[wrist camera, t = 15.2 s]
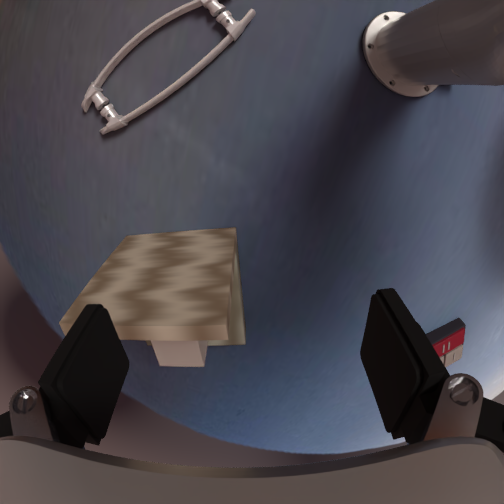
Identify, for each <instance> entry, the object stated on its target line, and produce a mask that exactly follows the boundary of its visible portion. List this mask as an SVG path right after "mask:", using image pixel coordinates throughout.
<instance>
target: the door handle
mask: <svg viewBox="0 0 504 504" xmlns="http://www.w3.org/2000/svg"><path fill="white" fill-rule="evenodd" d="M201 6H204V7H205V8H206V9H207V8H208V9H209V10H210V14H211V15H212V16H213V17H215V16H217V18H216V21H217V22H219V23H221V24H222V25H223V26H224V27H225V28H226V30H227V33H228V35H227V36H226V37H225V38H224V39H223V40H222V41H221V42H220V43H219V44H218V45H217V46H216V47H215V48H214V49H213V50H212V51H211V52H210V53H208V54H207V55H206V56H205V57H204V58H203V59H202V60H201V61H200V62H198V63H197V64H196V65H195V66H194V67H193V68H192V69H190V70H189V71H188V72H187V73H186V74H184V75H183V76H182V77H181V78H179V79H178V80H177V81H176V82H174V83H173V84H172V85H170V86H169V87H167V88H166V89H165V90H164V91H162V92H161V93H159V94H158V95H156V96H155V97H154V98H152V99H151V100H149V101H148V102H146V103H145V104H143V105H142V106H140V107H139V108H137V109H135V110H134V111H132V112H131V113H129V114H127V115H126V116H124V117H123V116H122V115H118V113H117V112H116V111H115V110H114V106H113V105H112V104H109V105H107V104H108V103H109V99H108V98H107V97H104V95H103V94H102V93H101V92H102V91H103V90H102V89H101V86H102V84H103V83H104V81H105V80H106V79H107V77H108V76H109V74H110V73H111V72H112V71H113V69H114V68H115V67H116V66H117V65H118V63H119V62H120V61H121V60H122V59H123V58H124V57H125V56H126V55H127V54H128V53H129V52H130V51H131V50H132V49H133V48H134V47H135V46H136V45H137V44H139V43H140V42H141V41H142V40H143V39H144V38H146V37H147V36H148V35H150V34H151V33H152V32H154V31H155V30H157V29H158V28H160V27H161V26H163V25H164V24H166V23H168V22H169V21H171V20H173V19H175V18H177V17H178V16H180V15H182V14H184V13H186V12H189V11H191V10H193V9H196V8H198V7H201ZM225 9H226V7H225V6H224V5H223V4H220V3H219V2H218V0H194V1H192V2H189V3H187V4H185V5H182V6H180V7H178V8H176V9H174V10H173V11H171V12H169V13H167V14H165V15H163V16H162V17H160V18H159V19H157V20H156V21H154V22H153V23H151V24H150V25H148V26H147V27H146V28H144V29H143V30H142V31H140V32H139V33H138V34H136V35H135V36H134V37H133V38H132V39H131V40H130V41H129V42H127V43H126V44H125V45H124V46H123V47H122V48H121V49H120V50H119V51H118V52H117V54H116V55H115V56H114V57H113V58H112V59H111V60H110V61H109V63H108V64H107V65H106V66H105V68H104V69H103V70H102V71H101V73H100V74H99V76H98V77H97V79H96V80H95V81H94V82H92V83H91V85H90V87H89V88H88V90H87V92H86V94H85V98H84V100H83V102H82V104H81V107H82V108H83V110H84V111H85V112H86V113H87V111H88V109H89V107H90V105H91V103H92V101H93V102H94V104H95V107H96V109H97V110H100V109H102V108H103V109H102V110H101V112H100V114H101V115H102V116H103V117H105V118H106V119H107V120H108V123H107V124H106V127H104V128H102V129H101V130H100V132H101V133H102V135H104V134H106V133H108V132H110V131H112V130H113V131H115V130H118V129H120V128H122V127H124V126H126V125H128V122H129V121H131V120H132V119H134V118H136V117H138V116H139V115H141V114H142V113H144V112H145V111H147V110H149V109H150V108H152V107H153V106H155V105H156V104H158V103H159V102H161V101H162V100H164V99H165V98H167V97H168V96H169V95H171V94H172V93H173V92H175V91H176V90H177V89H179V88H180V87H181V86H183V85H184V84H185V83H186V82H188V81H189V80H190V79H191V78H193V77H194V76H195V75H196V74H197V73H199V72H200V71H201V70H202V69H203V68H204V67H206V66H207V65H208V64H209V63H210V62H211V61H212V60H213V59H214V58H216V57H217V56H218V55H219V54H220V53H221V52H222V51H223V50H224V49H225V48H226V47H227V46H228V45H229V44H230V43H231V42H232V41H233V40H234V41H236V39H237V38H238V37H239V36H240V35H241V34H242V32H243V31H244V28H245V27H246V26H247V25H248V23H249V22H250V21H251V20H252V19H253V17H254V16H255V14H256V12H255V11H254V10H253V9H250V10H249V12H248V13H247V14H246V15H245V16H244V17H243V19H242V20H241V21H240V22H239V21H237V22H236V21H235V20H234V18H233V17H232V14H231V13H230V12H229V11H225ZM224 11H225V12H224ZM222 12H223V13H222ZM218 15H219V16H218ZM106 105H107V106H106Z"/></svg>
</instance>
